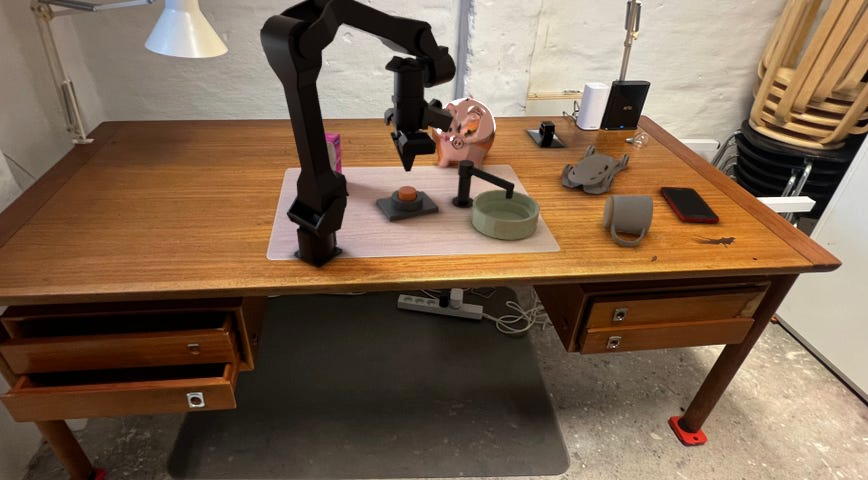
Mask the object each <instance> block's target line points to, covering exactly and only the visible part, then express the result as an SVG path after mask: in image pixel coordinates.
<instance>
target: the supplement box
mask: <svg viewBox="0 0 868 480" xmlns="http://www.w3.org/2000/svg"><path fill="white" fill-rule="evenodd" d="M325 136H326V142H327V148H328V153H329V159H330V165H331V168H332V170H334V171H337V172H339V173H341V174H343V169H342V167H343V165H342V146H341V145H342V144H341V141H342V140H341V134H340V133H336V132H335V133H334V132H326V131H325Z"/></svg>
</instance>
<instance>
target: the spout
mask: <svg viewBox="0 0 868 480" xmlns="http://www.w3.org/2000/svg"><path fill="white" fill-rule="evenodd" d="M457 168H458V169H457V175H458V177H459V176H460V177H464V178H469V177H471V178H472V177H475V178H478V179H480V180H483V181H485V182H486V183H489V184H492V185H494V186H496V187H499V188H501V189H502V190H506V196H505V197H506V198H507V199H512V198H513V191H515V190H514V189H515V187H516V184H515V183H513V182H511V181H509V180H506V179H505V178H502V177H499V176H497V175H495V174H492V173H490V172H487V171H485V170H483V169H482V168H481V169H478V168H476V167H474V162H472V161H470V160H461V161H459V163H458V167H457Z"/></svg>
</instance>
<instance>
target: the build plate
mask: <svg viewBox="0 0 868 480" xmlns="http://www.w3.org/2000/svg"><path fill="white" fill-rule="evenodd" d="M555 128H556V124H555V123H554V122H553V121H552V120H541V121H540V124H539V128H538V129H527V130H526V132H527V134H528V135H529V136H530V137H531V138H532V140H533V141H534V142H535V144H537V146H538V148H540V149H552V148H553V149H554V148H555V149H556V148H565V147H566V146H565V144H564V143H563V142H562V141H561V140H560V139H559V138H558V136H557V135H556V134H555V132H556V129H555Z"/></svg>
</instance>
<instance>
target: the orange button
mask: <svg viewBox="0 0 868 480" xmlns="http://www.w3.org/2000/svg"><path fill="white" fill-rule="evenodd" d="M398 190H399V199H401V200H406V201H409V200H414V199H415V198H416V190H417V189H416V187H414V186H411V185H404V186H401V187H399V188H398Z"/></svg>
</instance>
